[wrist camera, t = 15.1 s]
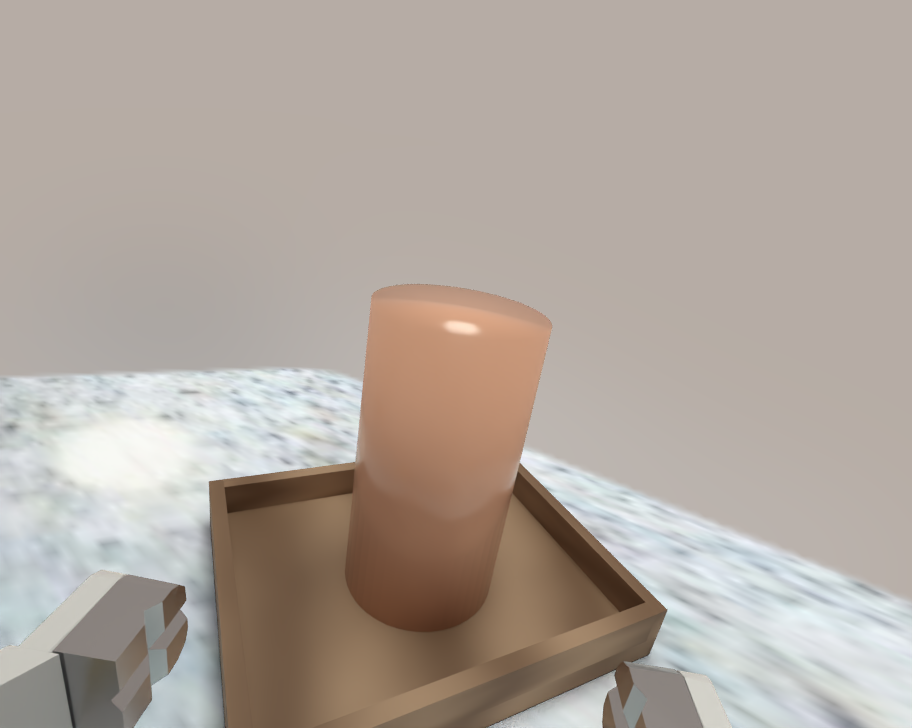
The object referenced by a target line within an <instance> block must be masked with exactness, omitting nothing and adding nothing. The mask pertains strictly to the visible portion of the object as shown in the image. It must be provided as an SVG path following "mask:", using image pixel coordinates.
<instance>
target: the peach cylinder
mask: <svg viewBox="0 0 912 728" xmlns="http://www.w3.org/2000/svg"><path fill="white" fill-rule="evenodd" d="M551 329H552V324H551V322H550V320H549V319H548V318H547V317H546V316H544V315H543V314H542V313H540V312H538V311H537V310H535V309H533V308H531V307H529V306H526V305H524V304H522V303H519V302H516V301H514V300H510V299H507V298H504V297H501V296H497V295H493V294H489V293H484V292H480V291H475V290H470V289H464V288H458V287H450V286H441V285H428V284H425V285H424V284H407V285H395V286H389V287H385V288H382V289H379V290H377V291H376V292H374V293H373V295H372V298H371V308H370V319H369V329H368V339H367V349H366V360H365V371H364V380H363V390H362V400H361V410H360V421H359V431H358V441H357V451H356V462H355V472H354V482H353V492H352V502H351V513H350V523H349V533H348V543H347V554H346V564H345V579H346V583H347V586H348V589H349V591H350V593H351V595H352V596H353V598H354V600H355V601H356V602H357V603H358V605H359V606H360V607H361V608H362V609H363V610H364V611H366V612H367V613H368V614H369V615H371V616H372V617H374V618H375V619H377V620H378V621H380V622H382V623H384V624H386V625H389V626H392V627H395V628H397V629H402V630H406V631H414V632H434V631H441V630H445V629H449V628H452V627H455V626H457V625H460V624H461V623H463V622H465V621H467V620H468V619H469V618H471V617H472V616H473V615H475V614H476V612H477V611H478V610H479V609H480V608H481V607H482V605H483V604H484V602H485V600H486V598H487V596H488V592H489V588H490V584H491V580H492V576H493V572H494V567H495V563H496V559H497V555H498V551H499V547H500V542H501V538H502V534H503V530H504V526H505V522H506V517H507V513H508V509H509V505H510V501H511V496H512V492H513V488H514V484H515V480H516V476H517V471H518V467H519V463H520V459H521V455H522V451H523V446H524V442H525V438H526V434H527V430H528V426H529V421H530V417H531V413H532V409H533V404H534V400H535V396H536V392H537V388H538V384H539V380H540V375H541V371H542V367H543V363H544V359H545V355H546V350H547V346H548V342H549V338H550V334H551Z"/></svg>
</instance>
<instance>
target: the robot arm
mask: <svg viewBox="0 0 912 728" xmlns="http://www.w3.org/2000/svg"><path fill="white" fill-rule="evenodd" d="M185 601H186V593H185V587H184V586H181V585H177V584H172V583H167V582H162V581H157V580H152V579H148V578H143V577H138V576H133V575H127V574H122V573H116V572H111V571H106V570H100V571H98V572H96V573H94V574H92V575H91V576H90V577H88V578H87V579H86V580H85V581H84V582H83V583H82V584H81V585H80V586H79V587H78V588H77V589H76V590H75V591H74V592H73V593H72V594H71V595H70V596H69V597H68V598H67V599H66V600H65V601H64V602H63V603H62V604H61V605H60V606H59V607H58V608H57V609H56V610H55V611H54V612H53V613H52V614H51V615H50V616H49V617H48V618H47V619H46V620H45V621H44V622H43V623H42V624H41V625H39V626H38V627H37V628H36V629H35V630H34V631H33V632H32V633H31V634H30V635H29V636H28V637H27V638H26V639H25V640H24V641H23V642H22V643H21V644H20V645H19V646H12V645H9V646H7V647H4V648H2V649H0V728H134V726H135V724H136V723H137V721H138V720H139V718H140V717H141V715H142V714H143V712H144V711H145V709H146V708H147V706H148V705H149V703H150V702H151V700H152V688H151V685H153V684H155V683H156V682H158V681H159V680H161V679H162V678H164V677H165V676H167V675H168V674H169V673H170V671H171V669H172V668H173V666H174V665H175V663H176V662H177V660H178V658H179V656H180V653H181V651H182V648H183V646H184V643H185V641H186V635H187V630H188V622H187V617H186V616H185V615H184V614H183V612H182V611H181V610H180V608H181V607H182V606H183V604H184V603H185ZM615 679H616V684H617V687H615V688H613V689H612V690H610V691H609V692H608V693H607V696H606V699H605V702H604V707H603V720H602V724H603V728H732V726H731V724H730V722H729V720H728V717H727V715H726V713H725V711H724V708H723V706H722V704H721V702H720V699H719V697H718V695H717V693H716V691H715V688H714V686H713V684H712V682H711V680H710V679H709V678H708V677H707V676H706V675H701V674H696V673H690V672H684V671H676V670H674V669H669V668H663V667H657V666H650V665H644V664H638V663H631V662H625V661H623V662H621V663H620V664H619V665H618V667H617V670H616V672H615Z"/></svg>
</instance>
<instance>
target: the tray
mask: <svg viewBox="0 0 912 728" xmlns="http://www.w3.org/2000/svg"><path fill="white" fill-rule="evenodd" d="M354 472H355V462H353V463H345V464H338V465H330V466H322V467H315V468H307V469H300V470H292V471H285V472H277V473H269V474H262V475H254V476H247V477H239V478H232V479H224V480H216V481H209V497H210V528H211V541H212V555H213V569H214V583H215V596H216V610H217V624H218V638H219V651H220V665H221V679H222V693H223V707H224V720H225V728H486V727H488V726H490V725H492V724H495V723H497V722H499V721H501V720H504V719H506V718H508V717H510V716H513V715H515V714H517V713H519V712H521V711H524V710H526V709H528V708H530V707H533V706H535V705H537V704H539V703H542V702H544V701H546V700H548V699H550V698H553V697H555V696H557V695H559V694H562V693H564V692H566V691H568V690H571V689H573V688H575V687H577V686H579V685H582V684H584V683H586V682H588V681H591V680H593V679H595V678H597V677H600V676H602V675H604V674H606V673H608V672H611V671H613V670H615V669H617V667H618V665H619V664H620V663H621V662H623V661H625V662H633V661H635V660H637V659H640V658H642V657H644V656H646V655H649V653H650V651H651V649H652V646H653V644H654V641H655V639H656V637H657V634H658V632H659V629H660V627H661V625H662V622H663V620H664V617H665V615H666V612H667V609H666V608H665V607H664V606H663V605H662V604H661V603H660V602H659V601H658V600H657V599H656V598H655V597H654V596H653V595H652V594H651V593H650V592H649V591H648V590H647V589H646V588H645V587H644V586H643V585H642V584H641V583H640V582H639V581H638V580H637V579H636V578H635V577H634V576H633V575H632V574H631V573H630V572H629V571H628V570H627V569H626V568H625V567H624V566H623V565H622V564H621V563H620V562H619V561H618V560H617V559H616V558H615V557H614V556H613V555H612V554H611V553H610V552H609V551H608V550H607V549H606V548H605V547H604V546H603V545H602V544H601V543H600V542H599V541H598V540H597V539H596V538H595V537H594V536H593V535H592V534H591V533H590V532H589V531H588V530H587V529H586V528H585V527H584V526H583V525H582V524H581V523H580V522H579V521H578V520H577V519H576V518H575V517H574V516H573V515H572V514H571V513H570V512H569V511H568V510H567V509H566V508H565V507H564V506H563V505H562V504H561V503H560V502H559V501H558V500H557V499H556V498H555V497H554V496H553V495H552V494H551V493H550V492H549V491H548V490H547V489H546V488H545V487H544V486H543V485H542V484H541V483H540V482H539V481H538V480H536V479H535V478H534V477H533V476H532V475H531V474H530V473H529V472H528V471H527V470H526V469H525V468H524V467H523V466H522V465H521V464H520V463H519V467H518V471H517V476H516V480H515V484H514V488H513V492H512V496H511V501H510V505H509V509H508V513H507V517H506V522H505V526H504V530H503V534H502V538H501V542H500V547H499V551H498V555H497V559H496V563H495V567H494V572H493V576H492V580H491V584H490V588H489V592H488V596H487V598H486V600H485V602H484V604H483V605H482V607H481V608H480V609H479V610H478V611H477V612H476V614H475V615H473V616H472V617H471V618H469V619H468V620H467V621H465V622H463V623H461V624H460V625H457V626H455V627H452V628H449V629H445V630H441V631H434V632H414V631H406V630H402V629H397V628H395V627H392V626H389V625H386V624H384V623H382V622H380V621H378V620H377V619H375V618H374V617H372V616H371V615H369V614H368V613H367V612H366V611H364V610H363V609H362V608H361V607H360V606H359V605H358V603H357V602H356V601H355V600H354V598H353V596H352V595H351V593H350V591H349V589H348V586H347V583H346V579H345V564H346V554H347V543H348V533H349V523H350V513H351V502H352V492H353V482H354Z"/></svg>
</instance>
